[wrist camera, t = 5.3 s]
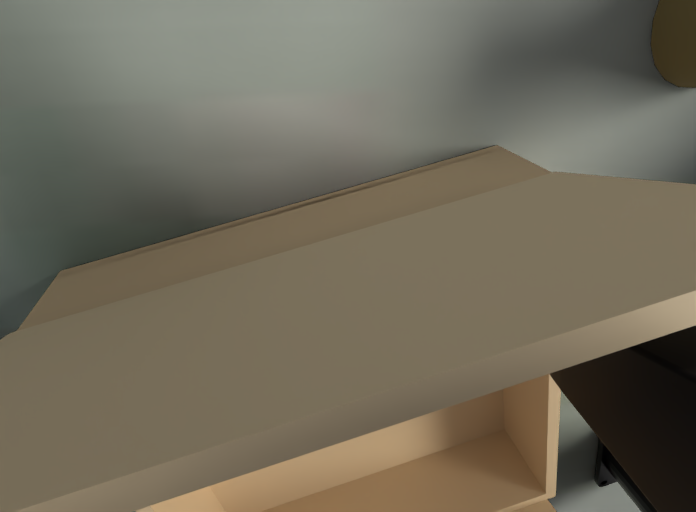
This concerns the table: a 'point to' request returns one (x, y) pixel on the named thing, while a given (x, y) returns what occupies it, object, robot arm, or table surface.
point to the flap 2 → (538, 507)
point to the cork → (675, 41)
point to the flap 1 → (338, 339)
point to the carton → (383, 445)
